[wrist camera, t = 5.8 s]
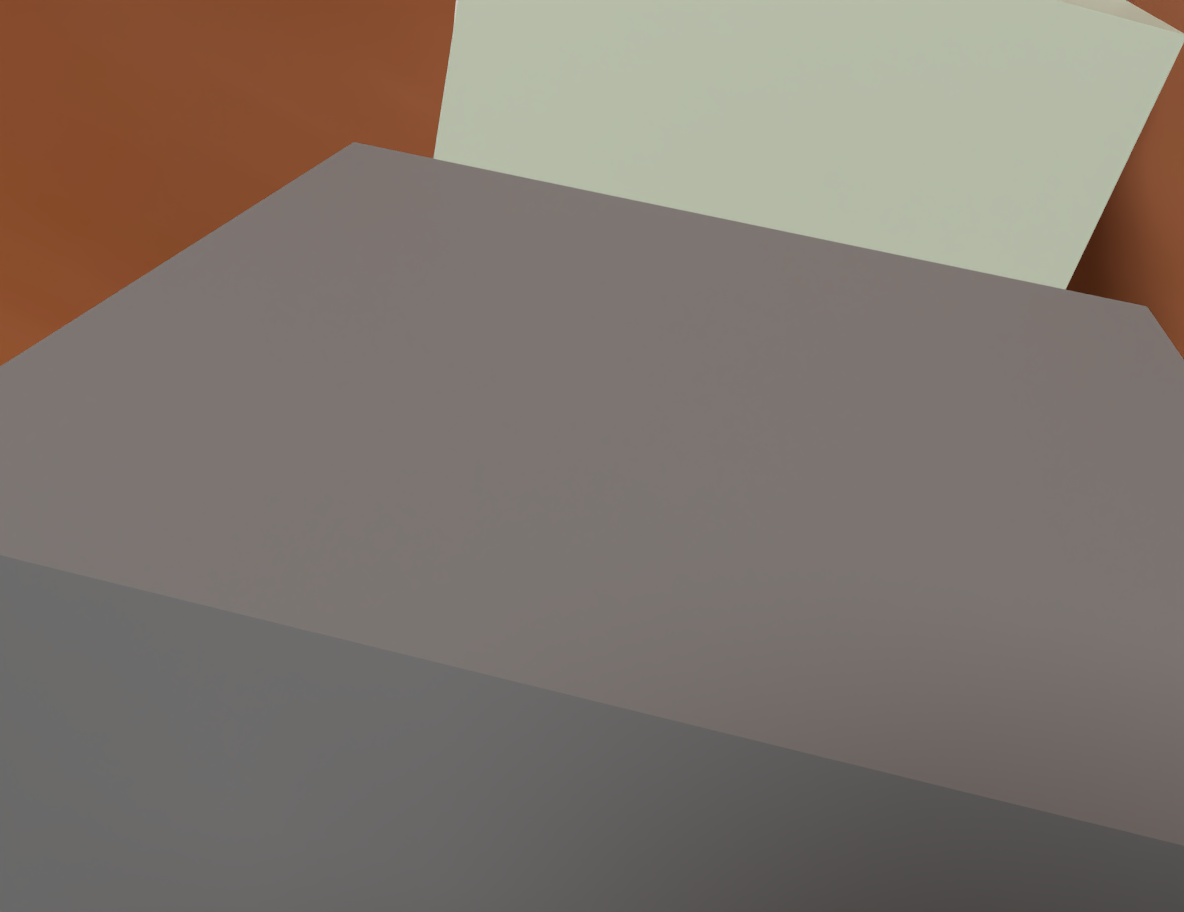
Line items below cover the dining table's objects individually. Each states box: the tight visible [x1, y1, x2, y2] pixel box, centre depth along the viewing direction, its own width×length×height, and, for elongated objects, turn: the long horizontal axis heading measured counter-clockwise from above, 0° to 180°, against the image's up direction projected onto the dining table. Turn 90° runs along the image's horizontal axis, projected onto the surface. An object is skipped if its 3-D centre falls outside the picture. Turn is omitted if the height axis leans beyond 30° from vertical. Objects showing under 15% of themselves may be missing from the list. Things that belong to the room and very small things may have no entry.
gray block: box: [0, 142, 1184, 912], centre depth 7 cm, size 6×6×5 cm
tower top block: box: [434, 0, 1184, 290], centre depth 16 cm, size 8×8×3 cm
